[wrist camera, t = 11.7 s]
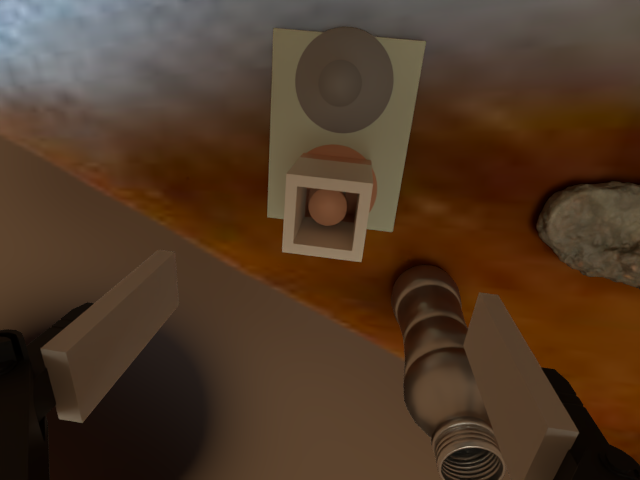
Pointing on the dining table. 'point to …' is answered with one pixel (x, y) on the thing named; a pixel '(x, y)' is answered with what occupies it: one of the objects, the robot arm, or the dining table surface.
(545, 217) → the elongated rock
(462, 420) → the plastic bottle
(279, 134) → the board with round knobs
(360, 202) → the sleeve
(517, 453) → the robot arm
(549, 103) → the dining table surface
